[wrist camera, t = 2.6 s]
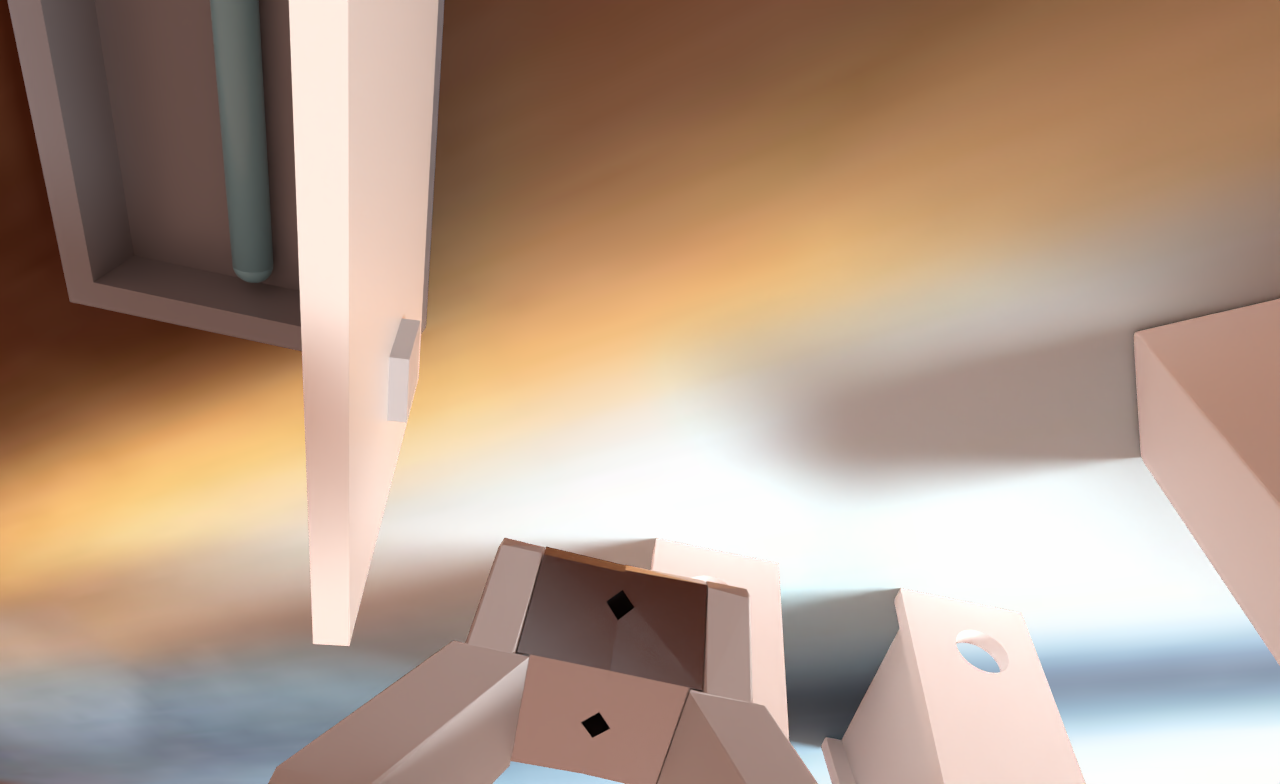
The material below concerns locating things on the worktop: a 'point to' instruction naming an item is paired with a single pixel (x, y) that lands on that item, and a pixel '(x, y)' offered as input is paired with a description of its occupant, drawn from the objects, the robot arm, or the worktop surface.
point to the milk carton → (1220, 444)
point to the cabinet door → (358, 269)
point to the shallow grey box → (175, 157)
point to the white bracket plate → (913, 687)
